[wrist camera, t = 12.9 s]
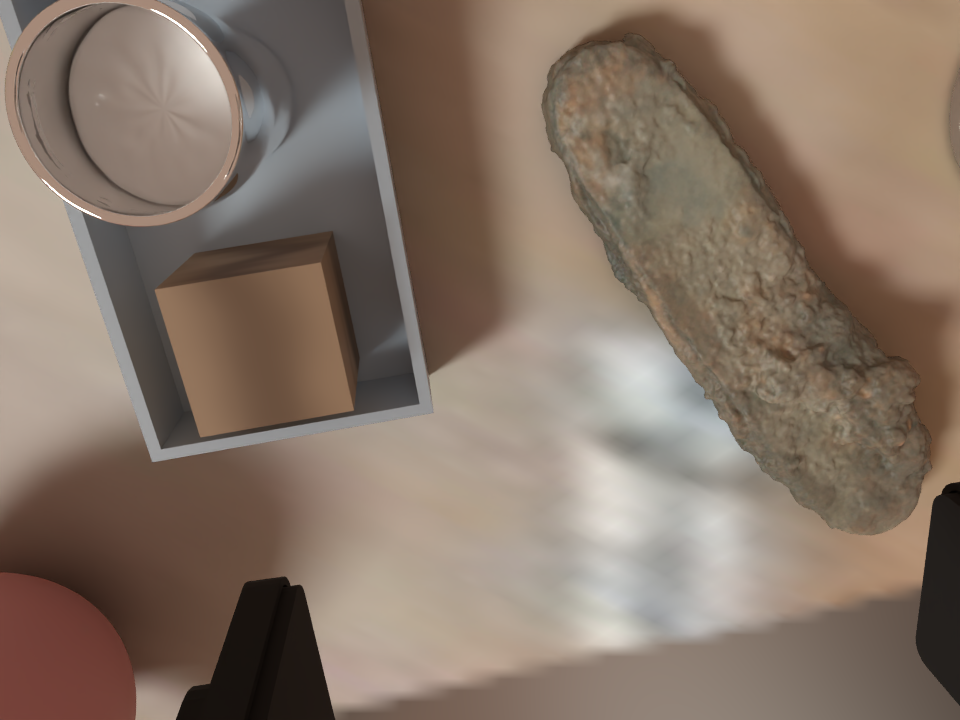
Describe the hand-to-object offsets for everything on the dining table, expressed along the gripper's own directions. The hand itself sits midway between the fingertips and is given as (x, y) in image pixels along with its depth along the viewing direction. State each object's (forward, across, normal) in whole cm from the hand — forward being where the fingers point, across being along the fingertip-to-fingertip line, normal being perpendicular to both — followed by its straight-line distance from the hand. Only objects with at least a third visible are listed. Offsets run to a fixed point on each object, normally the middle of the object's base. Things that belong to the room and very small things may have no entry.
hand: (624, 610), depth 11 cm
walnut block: (+30, +11, +3) cm, 32 cm away
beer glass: (+30, +11, -7) cm, 33 cm away
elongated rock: (+32, -15, +7) cm, 36 cm away
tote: (+30, +11, -2) cm, 32 cm away
